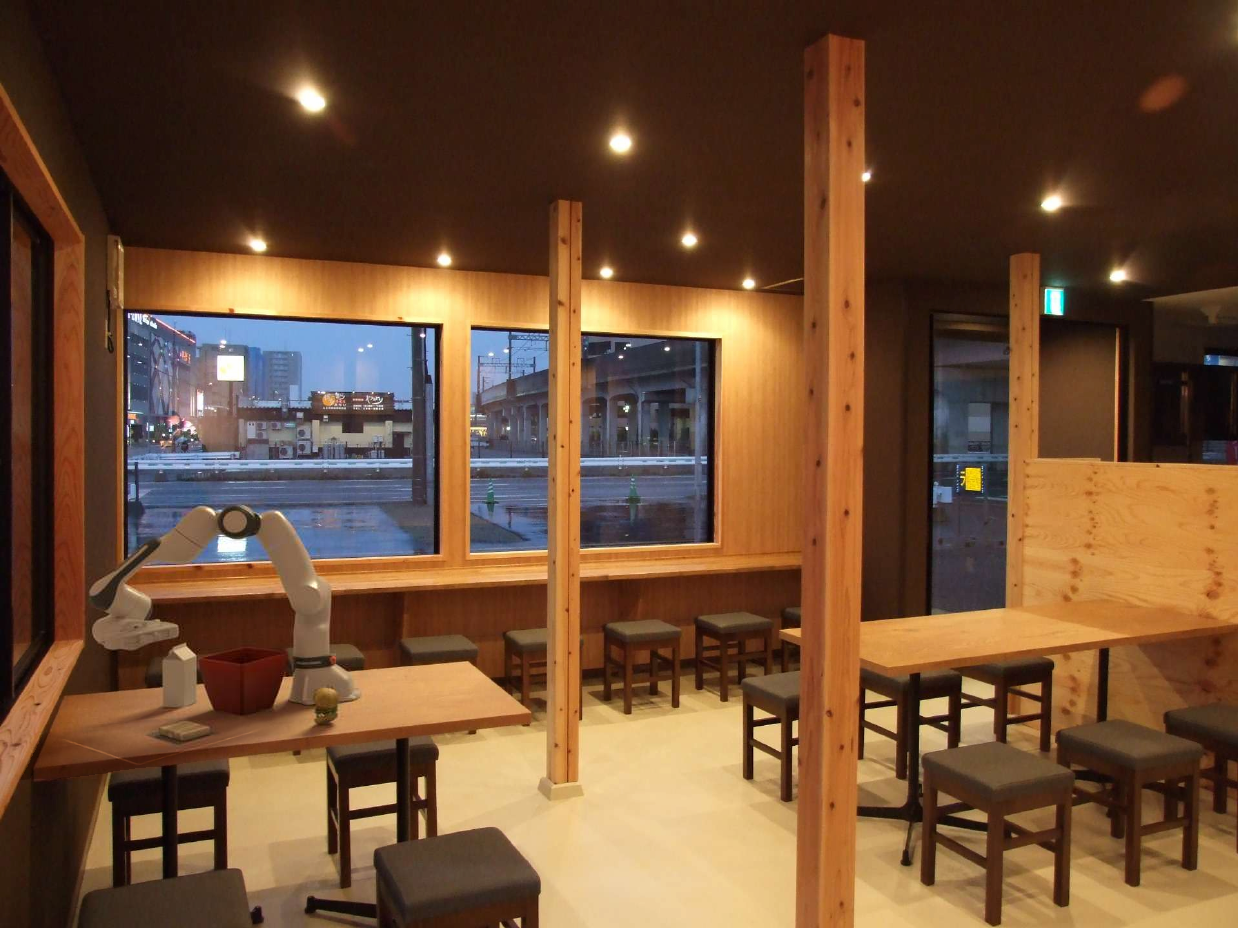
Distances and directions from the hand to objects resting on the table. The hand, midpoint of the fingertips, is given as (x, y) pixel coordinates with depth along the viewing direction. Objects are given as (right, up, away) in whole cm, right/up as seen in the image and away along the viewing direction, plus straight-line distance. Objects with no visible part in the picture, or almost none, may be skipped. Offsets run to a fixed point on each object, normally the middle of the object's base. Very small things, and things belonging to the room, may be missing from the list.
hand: (156, 638), depth 265 cm
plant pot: (+17, -26, +20) cm, 37 cm away
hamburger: (+48, -26, +3) cm, 55 cm away
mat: (+11, -26, -7) cm, 29 cm away
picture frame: (+7, -24, -4) cm, 26 cm away
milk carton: (-5, -26, +25) cm, 36 cm away
